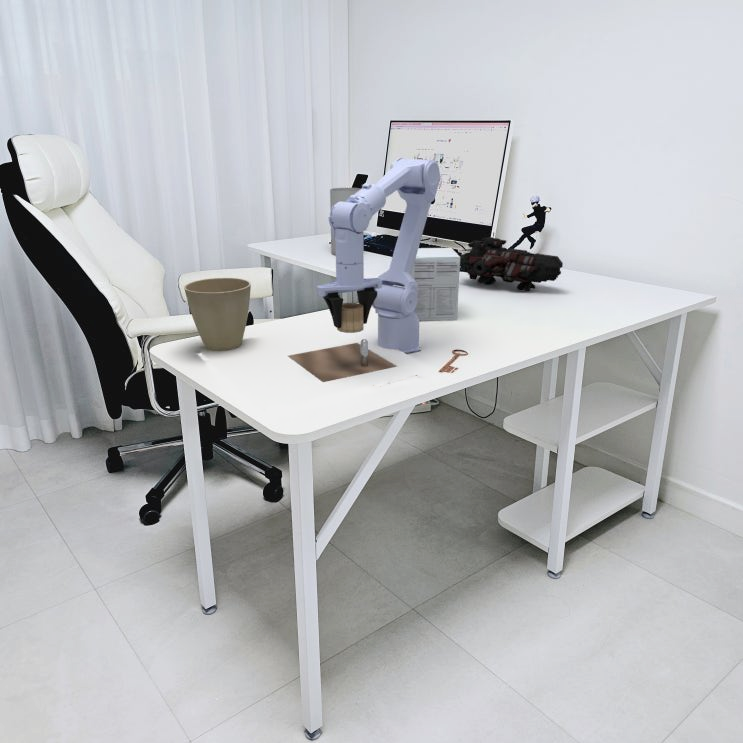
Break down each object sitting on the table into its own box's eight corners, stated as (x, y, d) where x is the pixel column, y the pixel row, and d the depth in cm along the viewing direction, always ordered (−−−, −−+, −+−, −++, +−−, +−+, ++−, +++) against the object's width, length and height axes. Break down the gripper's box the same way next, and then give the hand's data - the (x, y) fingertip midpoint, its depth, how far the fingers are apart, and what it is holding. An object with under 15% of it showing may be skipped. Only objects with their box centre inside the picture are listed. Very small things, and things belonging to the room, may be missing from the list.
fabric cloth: (357, 348, 158) (356, 342, 157) (397, 372, 143) (397, 366, 143) (287, 362, 149) (287, 355, 148) (323, 388, 135) (323, 382, 134)
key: (456, 378, 142) (477, 356, 155) (457, 374, 142) (478, 352, 154) (431, 371, 144) (454, 350, 157) (432, 368, 144) (454, 347, 157)
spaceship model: (545, 302, 197) (550, 252, 191) (451, 285, 215) (453, 239, 210) (570, 289, 211) (575, 242, 206) (480, 275, 229) (482, 231, 224)
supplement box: (458, 320, 179) (461, 256, 173) (409, 321, 178) (411, 257, 172) (449, 307, 191) (452, 247, 185) (404, 308, 190) (405, 247, 184)
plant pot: (264, 342, 162) (260, 278, 156) (239, 363, 148) (234, 294, 142) (208, 338, 165) (202, 275, 159) (179, 358, 151) (171, 290, 145)
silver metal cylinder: (365, 363, 144) (365, 337, 142) (369, 365, 143) (369, 339, 140) (359, 364, 143) (359, 338, 141) (363, 367, 142) (362, 340, 140)
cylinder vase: (350, 258, 255) (350, 191, 246) (325, 254, 261) (323, 189, 252) (368, 253, 265) (368, 188, 256) (343, 249, 271) (342, 187, 262)
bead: (355, 323, 145) (355, 301, 143) (368, 330, 140) (368, 307, 138) (332, 327, 142) (332, 304, 140) (344, 334, 138) (344, 311, 136)
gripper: (370, 254, 142) (370, 315, 147) (309, 261, 136) (311, 324, 141) (387, 260, 137) (386, 323, 142) (324, 268, 130) (326, 333, 135)
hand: (350, 324), depth 141 cm, fingers closed on bead, 6 cm apart
